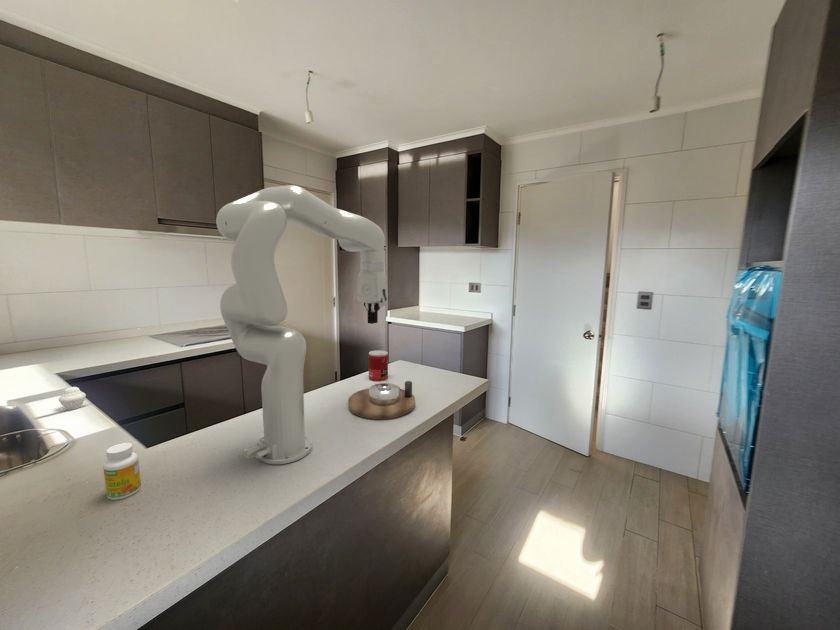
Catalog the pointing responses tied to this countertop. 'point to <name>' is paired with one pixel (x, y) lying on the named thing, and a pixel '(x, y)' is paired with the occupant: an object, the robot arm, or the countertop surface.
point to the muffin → (72, 398)
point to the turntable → (364, 408)
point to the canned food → (378, 365)
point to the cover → (384, 394)
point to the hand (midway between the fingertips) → (372, 322)
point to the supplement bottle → (121, 471)
